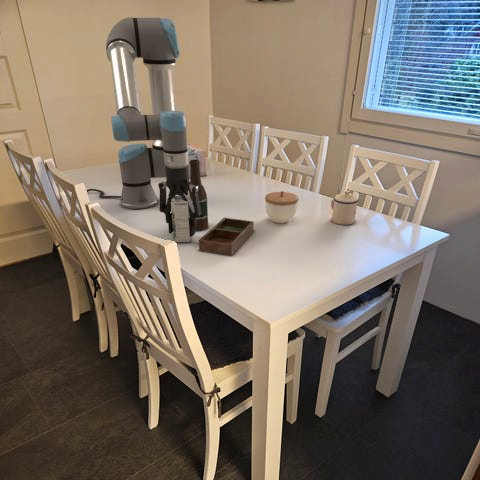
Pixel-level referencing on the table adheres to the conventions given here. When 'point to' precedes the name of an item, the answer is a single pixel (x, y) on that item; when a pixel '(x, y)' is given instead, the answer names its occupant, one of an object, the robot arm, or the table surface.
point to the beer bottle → (196, 180)
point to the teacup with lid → (344, 208)
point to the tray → (226, 236)
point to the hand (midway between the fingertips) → (182, 233)
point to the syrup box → (180, 219)
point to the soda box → (197, 157)
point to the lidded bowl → (281, 206)
